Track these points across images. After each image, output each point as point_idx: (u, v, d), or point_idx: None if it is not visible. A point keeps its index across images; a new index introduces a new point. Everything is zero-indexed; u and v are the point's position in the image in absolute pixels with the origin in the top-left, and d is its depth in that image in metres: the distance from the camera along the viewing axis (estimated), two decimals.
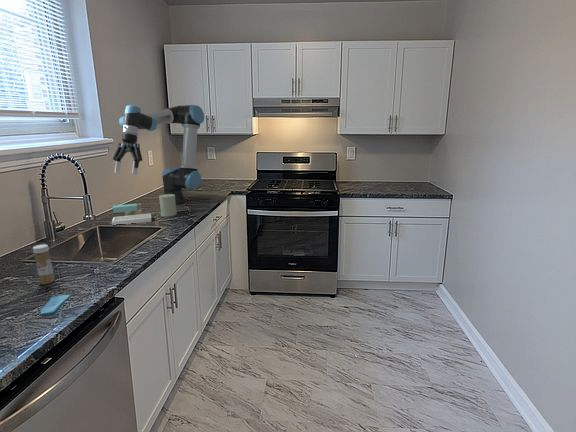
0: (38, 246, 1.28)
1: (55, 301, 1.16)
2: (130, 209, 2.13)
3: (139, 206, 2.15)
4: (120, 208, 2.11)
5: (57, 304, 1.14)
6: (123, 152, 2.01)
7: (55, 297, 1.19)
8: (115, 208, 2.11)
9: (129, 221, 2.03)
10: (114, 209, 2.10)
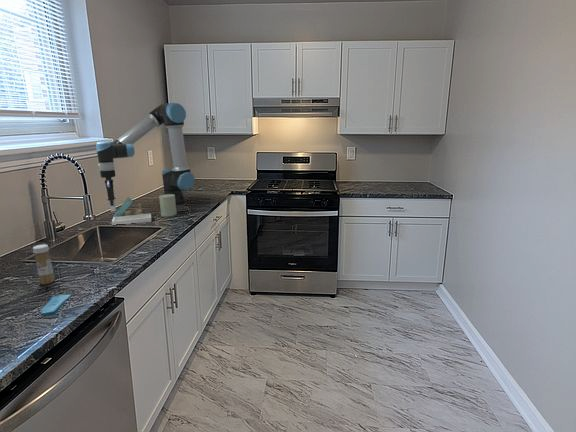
0: (38, 246, 1.28)
1: (56, 301, 1.16)
2: (126, 206, 2.12)
3: (139, 206, 2.15)
4: (119, 212, 2.12)
5: (58, 304, 1.14)
6: None
7: (56, 297, 1.19)
8: (116, 215, 2.11)
9: (129, 221, 2.03)
10: (116, 216, 2.12)
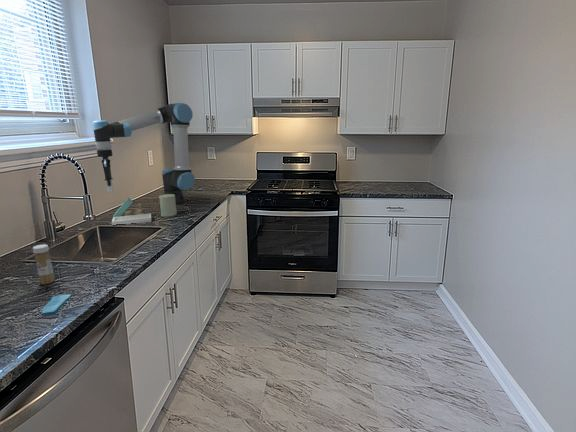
0: (38, 246, 1.28)
1: (56, 300, 1.17)
2: (126, 206, 2.12)
3: (139, 206, 2.15)
4: (119, 212, 2.12)
5: (58, 303, 1.15)
6: None
7: (56, 296, 1.19)
8: (115, 215, 2.11)
9: (129, 221, 2.03)
10: (115, 216, 2.12)
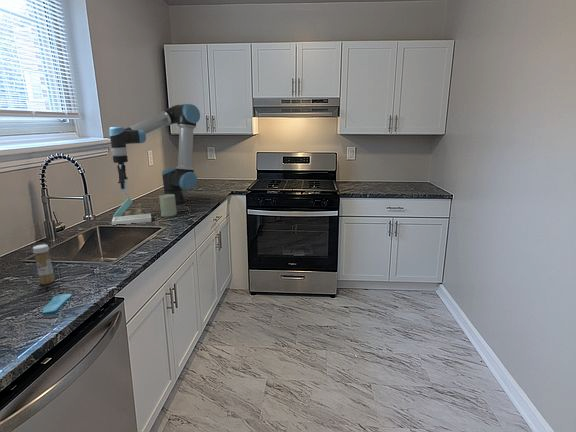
0: (38, 246, 1.28)
1: (57, 300, 1.17)
2: (126, 206, 2.12)
3: (139, 206, 2.15)
4: (119, 212, 2.12)
5: (59, 303, 1.15)
6: None
7: (58, 296, 1.20)
8: (115, 215, 2.11)
9: (129, 221, 2.03)
10: (115, 216, 2.12)
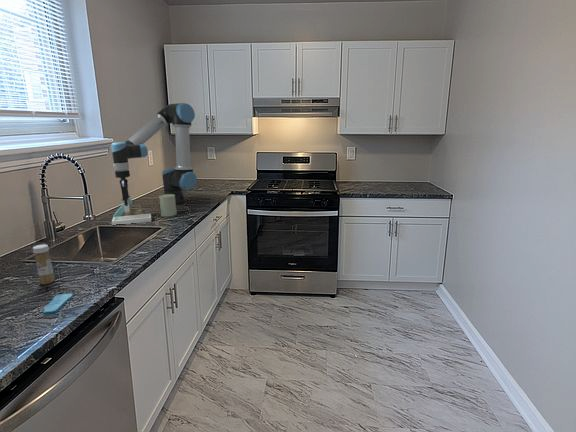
0: (38, 246, 1.28)
1: (58, 300, 1.17)
2: None
3: (139, 206, 2.15)
4: (119, 212, 2.12)
5: (60, 303, 1.15)
6: None
7: (59, 296, 1.20)
8: (115, 215, 2.11)
9: (129, 221, 2.03)
10: (115, 216, 2.12)
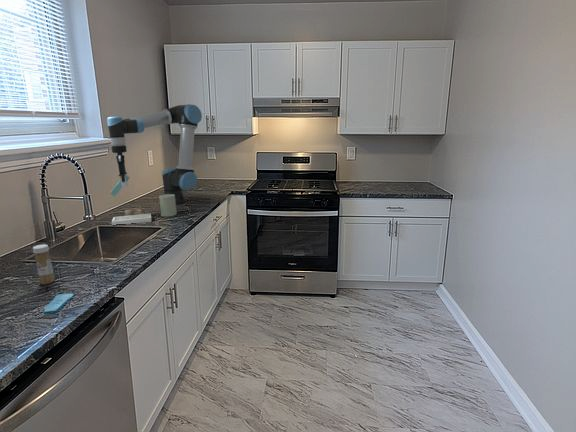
0: (38, 246, 1.28)
1: (59, 299, 1.17)
2: None
3: (139, 206, 2.15)
4: (116, 188, 2.08)
5: (61, 302, 1.15)
6: None
7: (60, 295, 1.20)
8: (112, 191, 2.08)
9: (129, 221, 2.03)
10: (112, 193, 2.08)
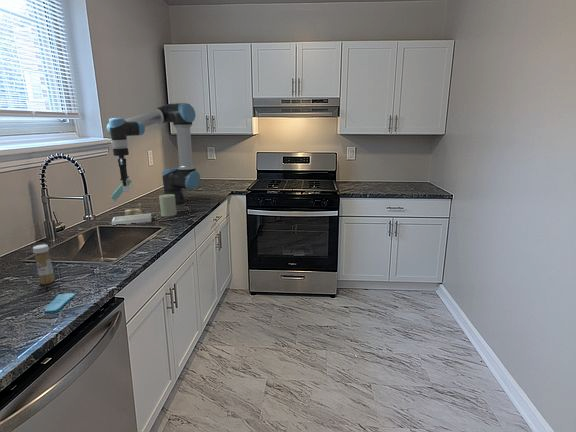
0: (38, 246, 1.28)
1: (61, 299, 1.18)
2: None
3: (139, 206, 2.15)
4: (117, 192, 2.00)
5: (62, 302, 1.15)
6: None
7: (61, 295, 1.20)
8: (113, 196, 1.99)
9: (129, 221, 2.03)
10: (113, 197, 2.00)
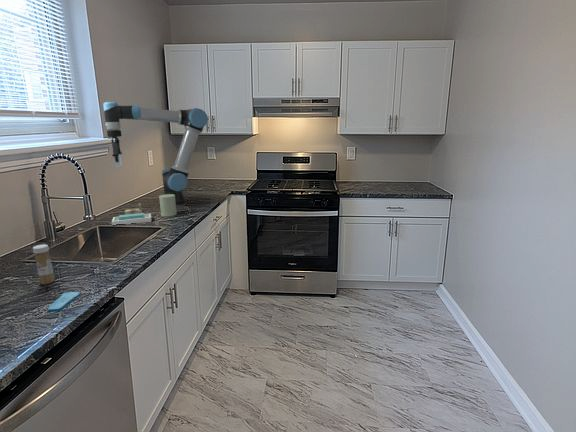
0: (38, 246, 1.28)
1: (65, 297, 1.18)
2: None
3: (139, 206, 2.15)
4: (126, 218, 2.04)
5: (66, 301, 1.16)
6: None
7: (67, 293, 1.21)
8: (121, 218, 2.04)
9: (129, 221, 2.03)
10: (120, 219, 2.03)
